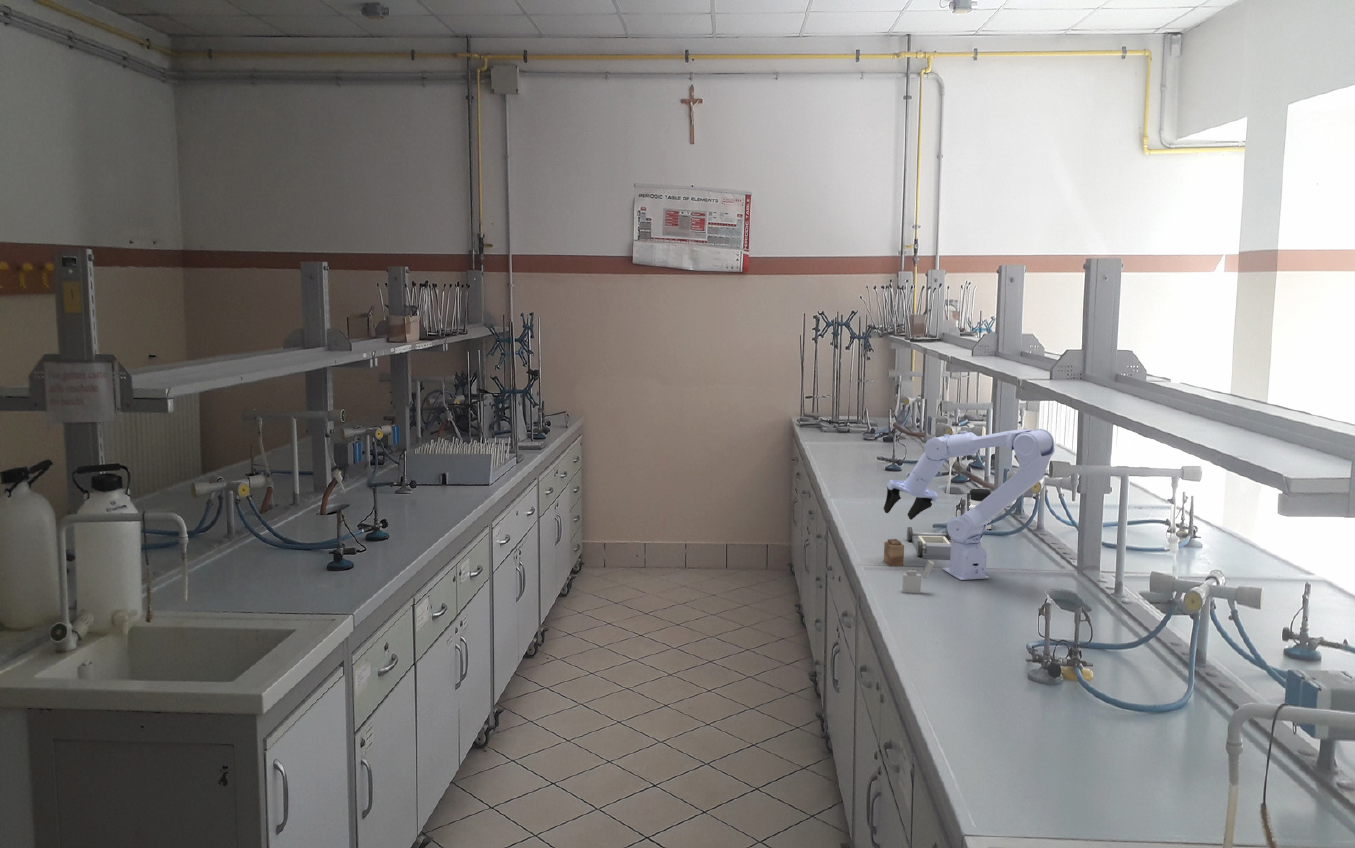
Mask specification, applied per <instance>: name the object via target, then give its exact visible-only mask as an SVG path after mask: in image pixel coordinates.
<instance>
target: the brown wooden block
mask: <svg viewBox="0 0 1355 848" xmlns="http://www.w3.org/2000/svg"><path fill="white" fill-rule="evenodd" d="M883 546H884V548H883V563H885V564H886V565H888V566H890V567H901V566H904V561H905V560H904V559H905V557H904V555H905V545H904V544H902V542H901V541H900V540H898V539H897V538H891V539H889V538H888V539H887V541H884V543H883Z"/></svg>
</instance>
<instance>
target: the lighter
mask: <svg viewBox="0 0 1355 848" xmlns="http://www.w3.org/2000/svg"><path fill="white" fill-rule="evenodd" d="M934 566H935V562H934V561H932V560H931V559H928V560H927V561H926V563H925V565H924V566H923V569H922V570H921V572H920V573H917V570H914V569H912V570H911V569H908V570H907V571H906V573H902V588H901V589H902V590H901V591H902V593H904V594H906V593H907V594H921V590H922V589H921V587H922V578H924V579H927V578H928V576H929V574H930V572H931V571H932V570H933V568H934Z"/></svg>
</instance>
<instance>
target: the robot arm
mask: <svg viewBox="0 0 1355 848" xmlns="http://www.w3.org/2000/svg"><path fill="white" fill-rule="evenodd" d="M995 447H996V448H997V447H1006V448H1007V449H1008V450H1009V451H1010V452H1011V451H1014V453H1015V456H1016V459H1017V462H1018V466H1019V467H1018V468H1019V469H1018V471H1017V472H1016V473H1014V474H1013V475H1012V476H1010V478H1008V479H1007V480H1006V481H1005V482H1003V484H1001V485H1000V486H999V487H997V488H996V489H995V490H994V491H993V492H991V494H990V495H989V496H988V497H986V498H985V499H984V500H983V501H981V502H980V503H979V504H978V505H976V506H975V507H974V508H972V509H970V510H969V511H967V512H964V513H962V514H961V515H960V516H954V517H952V518H950V519H949V520H948V522H947V524H946V525H947V526H946V528H947V531H948V534H949V536H950V537H951V541H950V544H951V553H950V559H949V566H948V567H942V570H943V571H945V572H946V573H948V574H950V575H952V576H953V577H955V578H956V579H957V580H961V581H963V580H965V581H966V580H980V579H989V576H988V575H986V571H987V552H986V550H985V549H984V547H982V545H981V535H982V534H983V533H984V532H985V531H986V530H985V528H986V526H987V524H988V523H990V522H991V519H992V520H993V519H994V517H996V516H997V515H998V514H1000V513H1001V512H1002V511H1004V509H1006V508H1007V507H1008V506H1010V505H1011V504H1012V503H1014V502H1015V501H1017V499H1018V498H1020V497H1021V496H1022V495H1024V494H1026V492H1027V491H1028V490H1030V489H1031V488H1032V487H1034V486H1035V485H1036V484H1038V483H1039V482H1040V481H1042V479H1043V478H1044V476H1045V473H1046V471H1047V468H1048V465H1049V463H1050V459H1051V457H1052V456H1053V455H1054V453H1055V450H1056V449H1055V441H1054V437H1053V435H1052V434H1051V432H1050V431H1049V430H1047V429H1043V428H1038V429H1034V430H1033V429H1014V430H1013V429H1012V430H1008V431H1006V430H1005V431H1001V432H996V433H989V434H985V435H977V434H975V433H973V432H972V431H971V432H968V430H961V431H960V433H958V434H951V435H950V434H949V433H947V434H943V435H942V436H938V437H937V436H936V437H932V438H929V439H928V440H927V441H926V442H925V444H924V448H923V451H924V452H923V453H922V455H921V456H920V458H919V459H918V461H917V462H916V464H915V465H914V466H913V469H912V471H911V472H910V474H909V475H908V476H907V478H906V479H905V480H893V479H890V480H888V481H887V483H886V488H887V489H886V490H887V491H886V499H885V503H884V506H883V510H884V513H886V514H889V513H890V511H891V510H892V508H893V507H894V506H895V504H896V503H898V502H899V501H900V500H901V498H902V497H901V495H900V492H901V493H906V494H908V495H910V496H912V497H915V499H914V502H913V504H912V505H911V507H910V509H909V511H908V513H907V518H909V520H913V519H915V518H916V516H918V515H919V514H921V513H922V512H924V511H925V510H927V509H929V508H931V507H932V505H933V503H935V502H936V501H937V499H938V498H939V495H938V493H937V492H936V491H933V490H931V489H928V487H930V484H931V483H932V481H933V480H934V479H935V477H936V475H937V474H938V472H939V470H941V467H942V466H943V465H944V463H945V461H946V459H949V458H958V457H959V458H961V457H966V456H973V455H976V454H977V453H978V451H979V450H980V449H987V448H995ZM932 502H933V503H932Z"/></svg>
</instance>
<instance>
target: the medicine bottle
mask: <svg viewBox="0 0 1355 848" xmlns="http://www.w3.org/2000/svg"><path fill="white" fill-rule="evenodd" d="M991 493H992V492H991V490H989V489H987V488H983V487H974V488H971V489H970V491H969V496H970V495H971V505H970V506H969V509H972V508H974V507H975V506H976V505H978V504H979V503H980V502H981V501H983V500H984V499H985V498H986V497H988V496H989V495H990V494H991ZM991 521H992V522H993V518H992V519H991ZM986 528H987V529H992V528H993V523H992V524H991V525H989V526H986Z"/></svg>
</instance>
